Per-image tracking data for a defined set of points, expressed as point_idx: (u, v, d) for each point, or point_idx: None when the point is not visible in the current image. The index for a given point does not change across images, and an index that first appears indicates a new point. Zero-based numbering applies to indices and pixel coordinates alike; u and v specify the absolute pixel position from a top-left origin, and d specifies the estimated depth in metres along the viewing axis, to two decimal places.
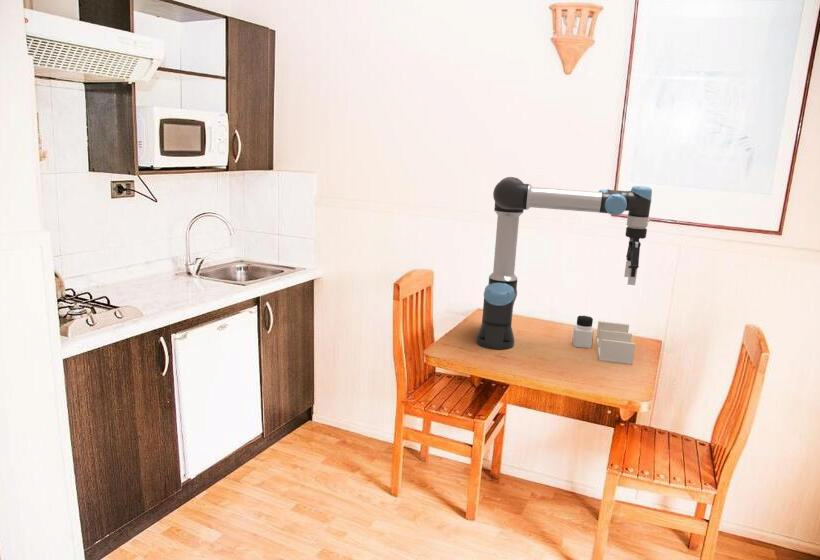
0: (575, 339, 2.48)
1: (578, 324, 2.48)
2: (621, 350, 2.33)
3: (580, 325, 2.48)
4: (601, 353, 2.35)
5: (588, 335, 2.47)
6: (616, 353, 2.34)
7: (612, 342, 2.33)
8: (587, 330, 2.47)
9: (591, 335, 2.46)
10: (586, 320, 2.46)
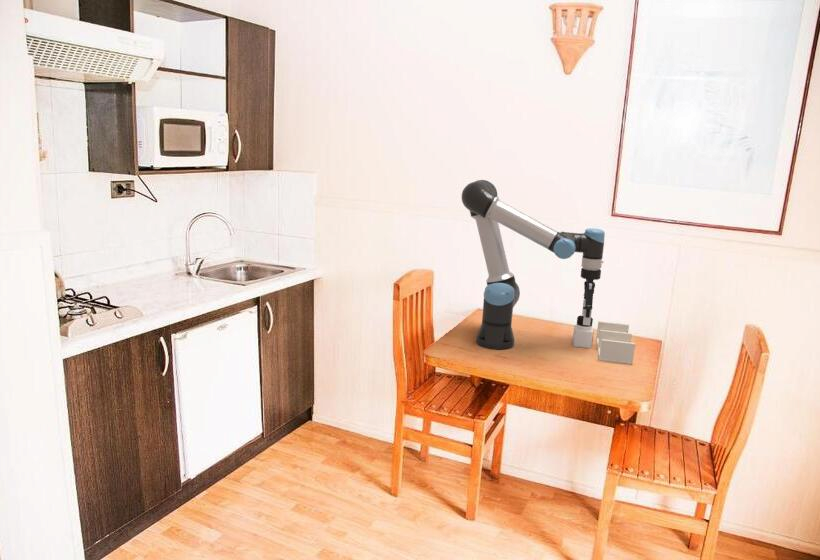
0: (575, 339, 2.48)
1: (578, 324, 2.48)
2: (621, 350, 2.33)
3: (580, 325, 2.48)
4: (601, 353, 2.35)
5: (588, 335, 2.47)
6: (616, 353, 2.34)
7: (612, 342, 2.33)
8: (587, 330, 2.47)
9: (591, 335, 2.46)
10: None
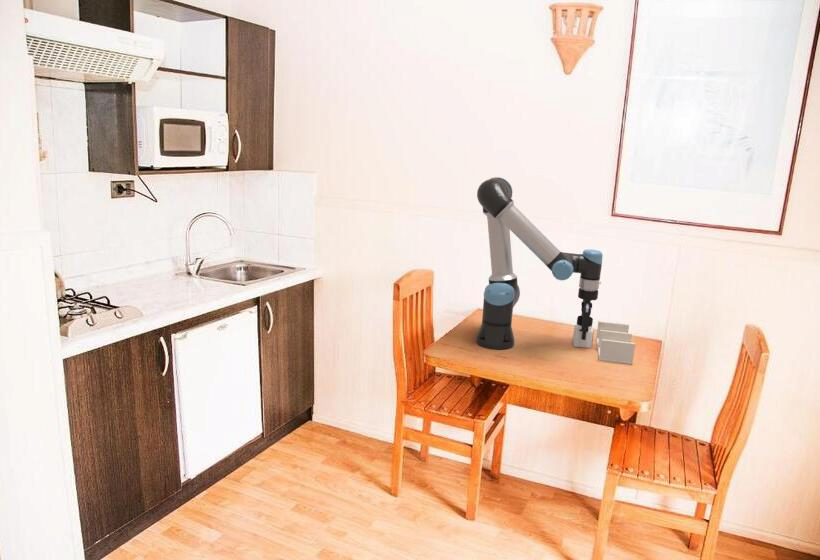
0: (575, 339, 2.48)
1: (578, 324, 2.48)
2: (621, 350, 2.33)
3: (580, 325, 2.48)
4: (601, 353, 2.35)
5: (588, 335, 2.47)
6: (616, 353, 2.34)
7: (612, 342, 2.33)
8: None
9: (591, 335, 2.46)
10: None
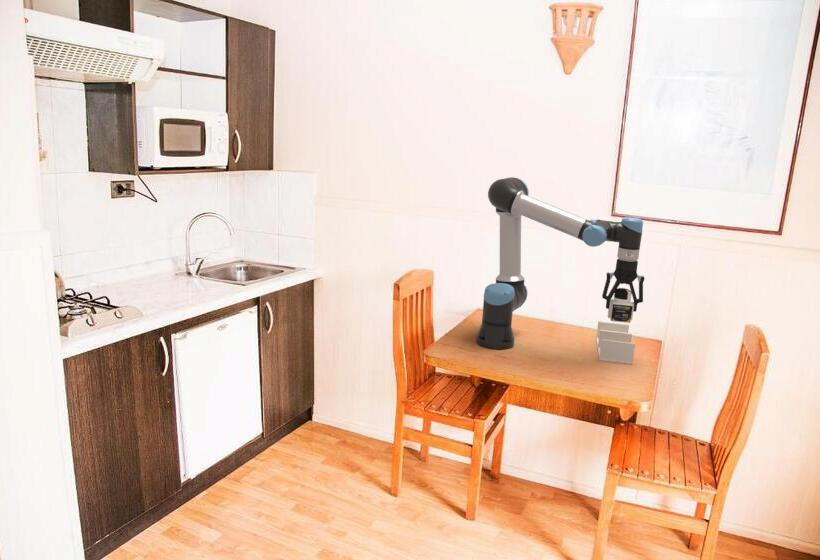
0: None
1: None
2: (621, 350, 2.33)
3: None
4: (601, 353, 2.35)
5: None
6: (616, 353, 2.34)
7: (612, 342, 2.33)
8: (614, 301, 2.35)
9: (612, 306, 2.34)
10: None
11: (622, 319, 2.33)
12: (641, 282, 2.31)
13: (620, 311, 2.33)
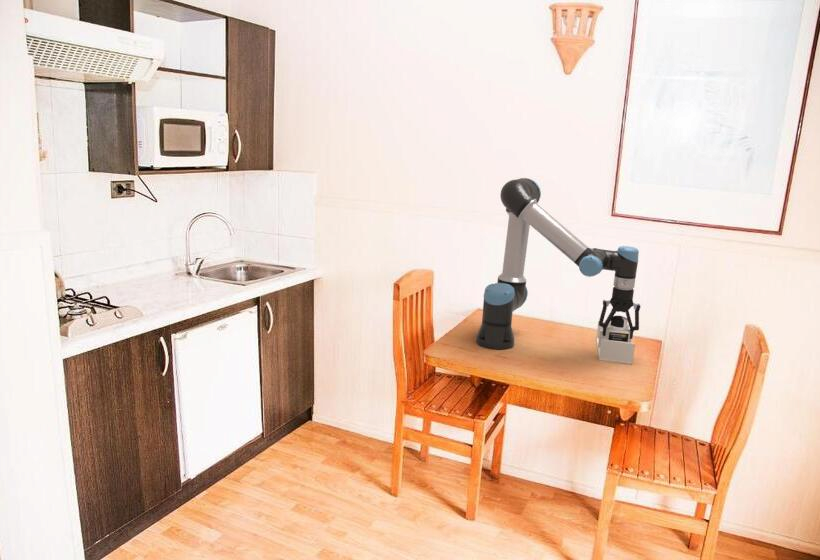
0: None
1: None
2: (621, 350, 2.33)
3: None
4: (601, 353, 2.35)
5: (608, 334, 2.37)
6: (616, 353, 2.34)
7: (612, 342, 2.33)
8: (610, 328, 2.37)
9: (608, 334, 2.36)
10: None
11: None
12: (637, 310, 2.33)
13: (616, 339, 2.35)
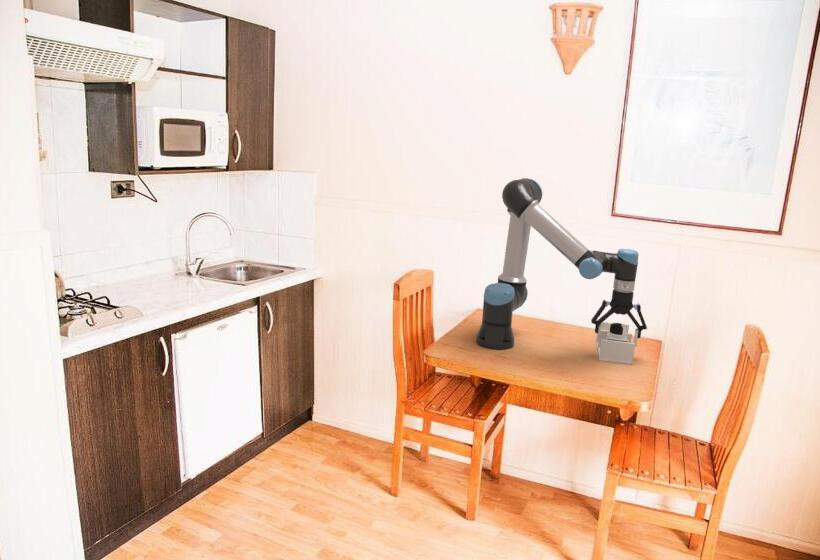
0: None
1: None
2: (621, 350, 2.33)
3: None
4: (601, 353, 2.35)
5: None
6: (616, 353, 2.34)
7: (612, 342, 2.33)
8: (609, 336, 2.38)
9: None
10: (610, 325, 2.38)
11: None
12: (639, 310, 2.33)
13: None
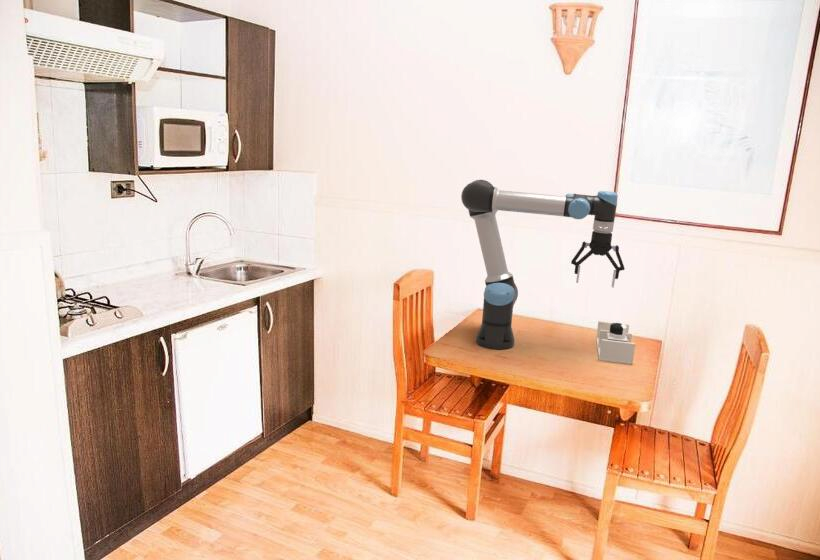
0: None
1: None
2: (621, 350, 2.33)
3: None
4: (601, 353, 2.35)
5: None
6: (616, 353, 2.34)
7: (612, 342, 2.33)
8: (609, 336, 2.38)
9: None
10: (610, 325, 2.38)
11: None
12: (617, 251, 2.40)
13: None
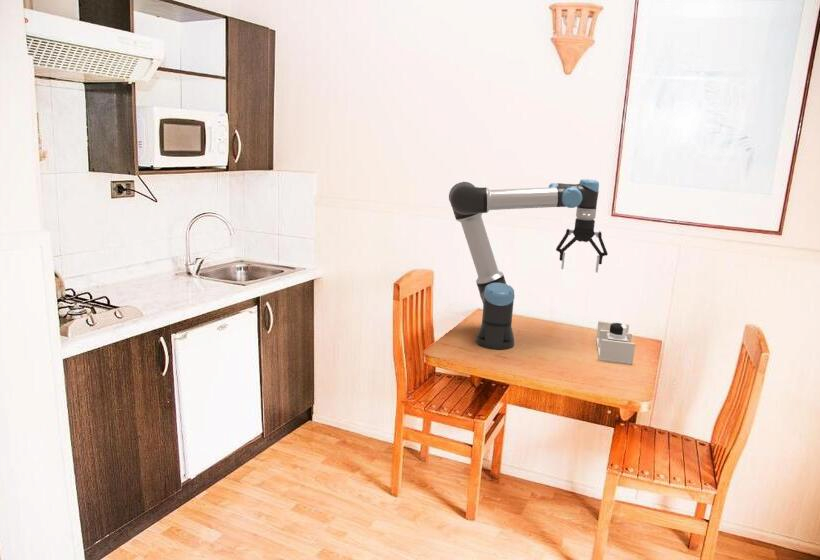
0: None
1: None
2: (621, 350, 2.33)
3: None
4: (601, 353, 2.35)
5: None
6: (616, 353, 2.34)
7: (612, 342, 2.33)
8: (609, 336, 2.38)
9: None
10: (610, 325, 2.38)
11: None
12: (600, 237, 2.48)
13: None
